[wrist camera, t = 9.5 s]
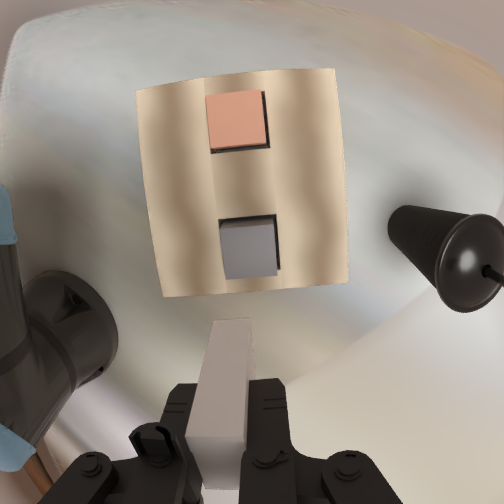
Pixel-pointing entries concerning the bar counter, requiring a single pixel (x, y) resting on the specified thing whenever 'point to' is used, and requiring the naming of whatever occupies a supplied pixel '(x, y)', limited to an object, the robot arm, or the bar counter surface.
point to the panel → (245, 181)
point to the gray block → (248, 247)
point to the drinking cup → (453, 253)
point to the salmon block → (235, 119)
